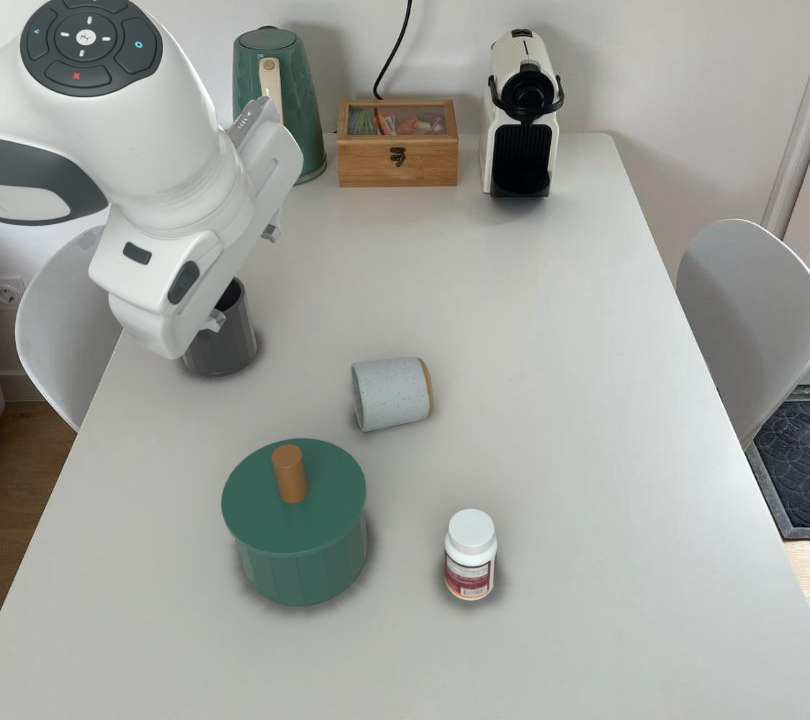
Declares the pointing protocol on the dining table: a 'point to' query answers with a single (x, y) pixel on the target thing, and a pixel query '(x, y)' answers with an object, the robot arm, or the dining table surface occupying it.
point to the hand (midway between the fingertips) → (244, 277)
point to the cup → (225, 337)
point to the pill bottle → (470, 554)
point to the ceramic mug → (391, 392)
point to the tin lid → (294, 498)
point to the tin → (308, 570)
